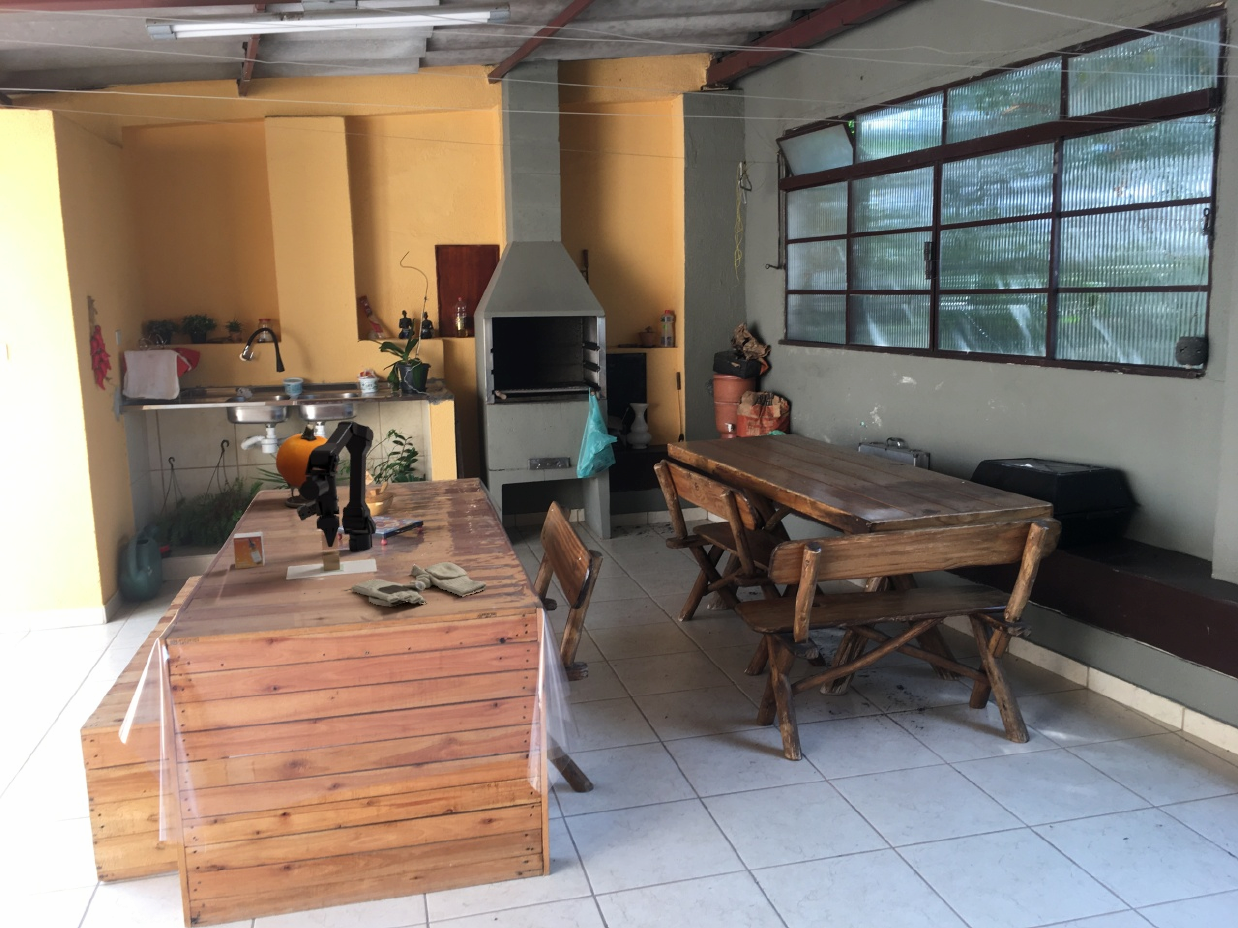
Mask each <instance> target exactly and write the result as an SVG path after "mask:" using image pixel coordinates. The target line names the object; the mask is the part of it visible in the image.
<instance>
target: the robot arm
mask: <svg viewBox="0 0 1238 928" xmlns="http://www.w3.org/2000/svg"><path fill="white" fill-rule="evenodd" d="M374 437H375V436H374V430H373V429H371V427H370V426H367V425H364V424H359V423H357V422H355V421H351V420H347V421H345V420H341V421H339V422H338V424H337V427H336V428H335V429H334V431H332V433H331V435H330V436H329V437H328V438H327V439H328V440H327V441H326V443H325V444H323V445H320V446H317V447H316V448H315V449H313V450H312V452H311V454H310V455H309V459H308V463H307V467H306V472H305V475H310V476H306V481H305V482H303V484H302V485H301V488H300V492H301V495H302V496H303V497H304V498H305V499H307V500H310V501H312V500H315V501H313V502H310V503H307V504H305V505H303V506H300V507H298V508H296V513H297V515H298V517H299V519H300V521H305V520H306V519H308V518H310V517H313V516H315V515H316V517H318V518H316V530H321V532H322V531H323V532H324V534H325V538H326V541H327V544H328V547H332V546H333V543H334V540H335V537H336V534H337V531H338V532H339V528H340V527H341V525H342V528H343V534H344V535H349V539H348V549H349V552H352V553H358V552H366V551H368V550H371V549H372V548H373V537H372V535H374V534H376V531H377V523H376V522H375V521H374V519H373V517H372V515H371V509H370V507H369V506H368V504H367V502H366V484H367V483H366V482H367V481H366V478H367V477H366V476H367V454H368V453H369V451H370V449H371V448H372V447H373V440H374ZM344 447H345V448H346V450H347V451H348V453H349V495H348V496H349V499H348V503H347V504H346V506H344V507H343V509H342V518H341V522H340V516H339V515H340V506H339V503H338V502H339V501H338V502H337V496H338V493H337V490H338V489H337V479H336V478H337V477H336V475H337V474H338V468H337V466H338V467H339V462H340V460H341V458H340V454H341V452H342V450H343V449H344ZM313 468H314V469H324V470H312V469H313ZM336 469H337V471H336ZM340 523H341V525H340Z"/></svg>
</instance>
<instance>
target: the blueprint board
mask: <svg viewBox="0 0 1238 928" xmlns="http://www.w3.org/2000/svg"><path fill="white" fill-rule="evenodd" d="M376 563H377V561H376V558H371V559H370V558H368V559H357V560H348V561H347V560H345V561H340V570H330V571H324V565H323V563H313V564H304V565H302V564H301V565H291V566H287V571H286V572H287V573H286V578H285V580H295V579H307V578H316V577H317V578H319V577H329V576H339V575H349V574H351V575H352V574H361V573H362V574H363V573H372V572H373V573H374V572H378V571H377V570H378V569H377V564H376Z"/></svg>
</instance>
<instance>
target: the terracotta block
mask: <svg viewBox="0 0 1238 928" xmlns="http://www.w3.org/2000/svg"><path fill="white" fill-rule="evenodd" d="M320 532H321V544H322V545H321V547H322V551H330V550H331V551H332V550H338V549H339V544H340V542H339V530H338V531H337V534H336V537H335V540H334V543H333V546H332V547H328V544H327V541H326V538H325V534H324V532H323V531H322V530H321V531H320Z"/></svg>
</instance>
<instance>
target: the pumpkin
mask: <svg viewBox="0 0 1238 928" xmlns="http://www.w3.org/2000/svg"><path fill="white" fill-rule="evenodd" d="M328 439H329V438H326V437H324V436H321V435H316V434H315V429H314V425H313V424H306V426H305V428H304V430H303V432H302V433H297V434H296V433H295V434H294V435H292V436H290V437H288V438H286V439H285V440H284V441H283V442H282V444H280V447H279V449H278V451H277V454H276V458H275V467H276V470H277V472H278V474H280V475H281V477H282V478H283V480H284V482H285V483H286V484H287V486H288V488H289V489H290V491H291V496H289V497H287V498H286V500H285V506H286V507H287V508H289V507H290V508H296V509H297V508H298V507H300V506H303V505H305V504H307V503H310V502H313V501H315V500H312V501H310V500H307V499H305V498H304V497H303V496H302V495H301V492H300V488H301V485H302V484H303V482H305V481H306V476H310V475H305V472H306V467H307V463H308V459H309V455H310V454H311V452H312V450H313V449H315V448H316V447H317V446H320V445H323V444H325V443H326V441H327V440H328ZM338 467H339V465H338V466H337V469H336V471H337V472H338ZM312 470H324V469H314V468H313V469H312ZM296 489H297V492H298V493H299V494H297V495H294V491H295V490H296ZM339 500H340V498H339V496H338V495H337V502H339Z"/></svg>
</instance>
